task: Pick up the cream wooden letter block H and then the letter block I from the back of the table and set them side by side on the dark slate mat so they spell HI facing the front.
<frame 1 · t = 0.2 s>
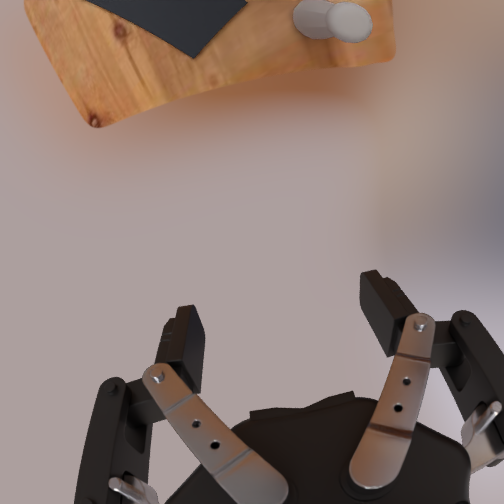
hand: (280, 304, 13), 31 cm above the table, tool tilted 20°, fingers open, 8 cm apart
salt shaker: (310, 17, 26), on the table
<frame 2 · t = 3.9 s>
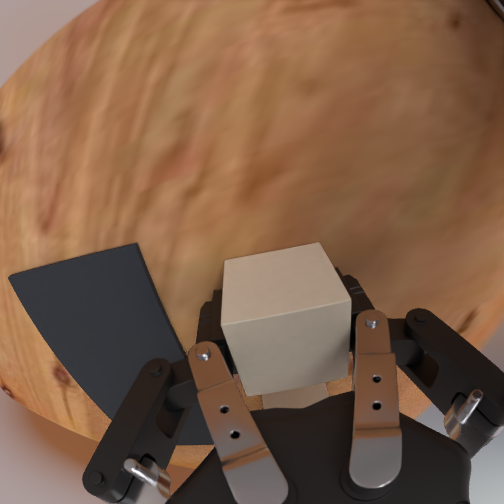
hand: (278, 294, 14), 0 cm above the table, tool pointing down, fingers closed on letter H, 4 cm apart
word mat: (132, 382, 18), on the table
letter H: (278, 290, 14), on the table, touching gripper
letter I: (296, 404, 19), on the table
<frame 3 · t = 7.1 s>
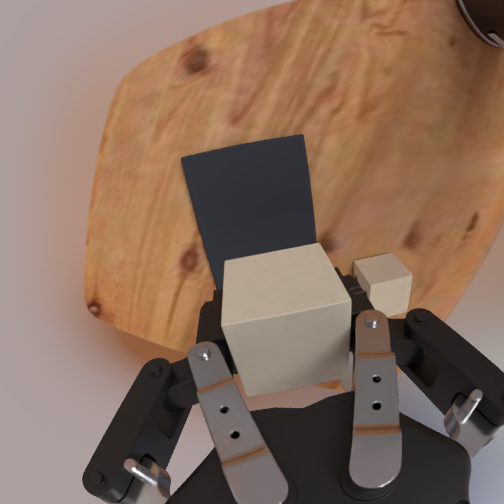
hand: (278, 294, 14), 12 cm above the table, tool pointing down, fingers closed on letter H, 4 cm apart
word mat: (262, 252, 27), on the table
letter H: (278, 290, 14), point 12 cm above the table, touching gripper
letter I: (372, 274, 29), on the table
when the fingers open (1 cm above the table, at t = 10.1 s): letter H stays where it is, resting on word mat.
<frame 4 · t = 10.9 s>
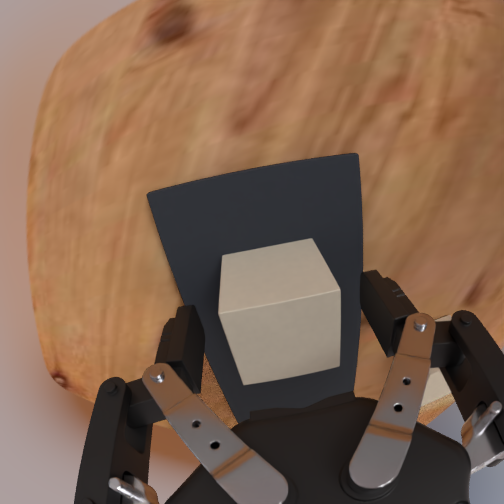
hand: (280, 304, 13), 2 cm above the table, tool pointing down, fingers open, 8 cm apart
word mat: (282, 332, 17), on the table
letter H: (274, 284, 15), resting on word mat
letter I: (422, 342, 19), on the table
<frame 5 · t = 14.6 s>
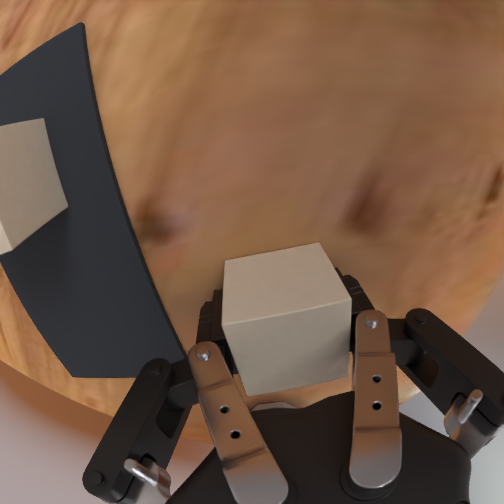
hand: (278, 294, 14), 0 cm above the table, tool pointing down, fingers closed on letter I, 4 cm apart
word mat: (53, 244, 12), on the table
letter H: (24, 177, 10), resting on word mat
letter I: (278, 290, 14), on the table, touching gripper
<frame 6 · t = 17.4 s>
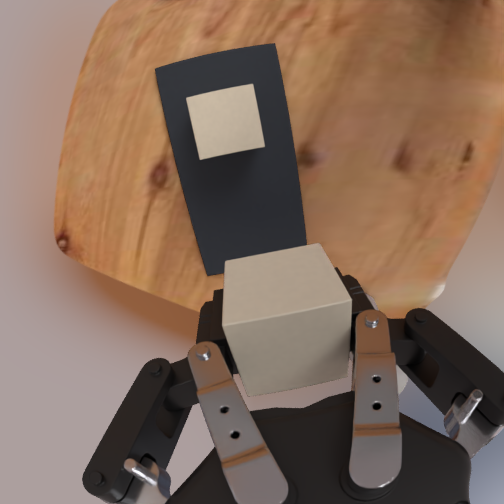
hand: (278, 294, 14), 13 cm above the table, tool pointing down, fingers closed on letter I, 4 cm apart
word mat: (236, 164, 24), on the table
letter H: (227, 120, 22), resting on word mat
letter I: (279, 290, 14), point 13 cm above the table, touching gripper
when the fingers open (1 cm above the table, at t = 20.6 s): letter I stays where it is, resting on word mat.
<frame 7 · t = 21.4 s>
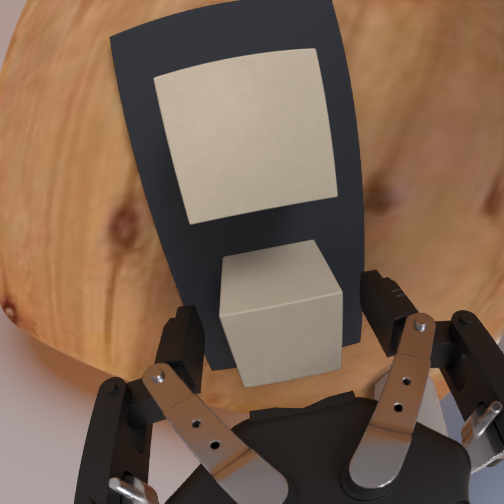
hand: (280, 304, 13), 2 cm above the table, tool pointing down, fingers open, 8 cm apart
word mat: (260, 210, 13), on the table
letter H: (244, 127, 11), resting on word mat
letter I: (275, 285, 15), resting on word mat
salt shaker: (393, 379, 21), on the table
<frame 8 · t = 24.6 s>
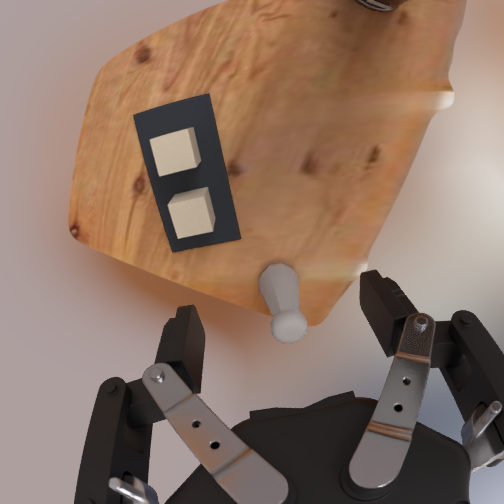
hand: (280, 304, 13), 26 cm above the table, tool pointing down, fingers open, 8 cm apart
word mat: (187, 176, 36), on the table
letter H: (180, 148, 34), resting on word mat
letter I: (195, 206, 37), resting on word mat
salt shaker: (276, 273, 44), on the table
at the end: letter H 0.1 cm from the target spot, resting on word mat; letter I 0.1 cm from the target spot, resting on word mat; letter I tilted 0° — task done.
